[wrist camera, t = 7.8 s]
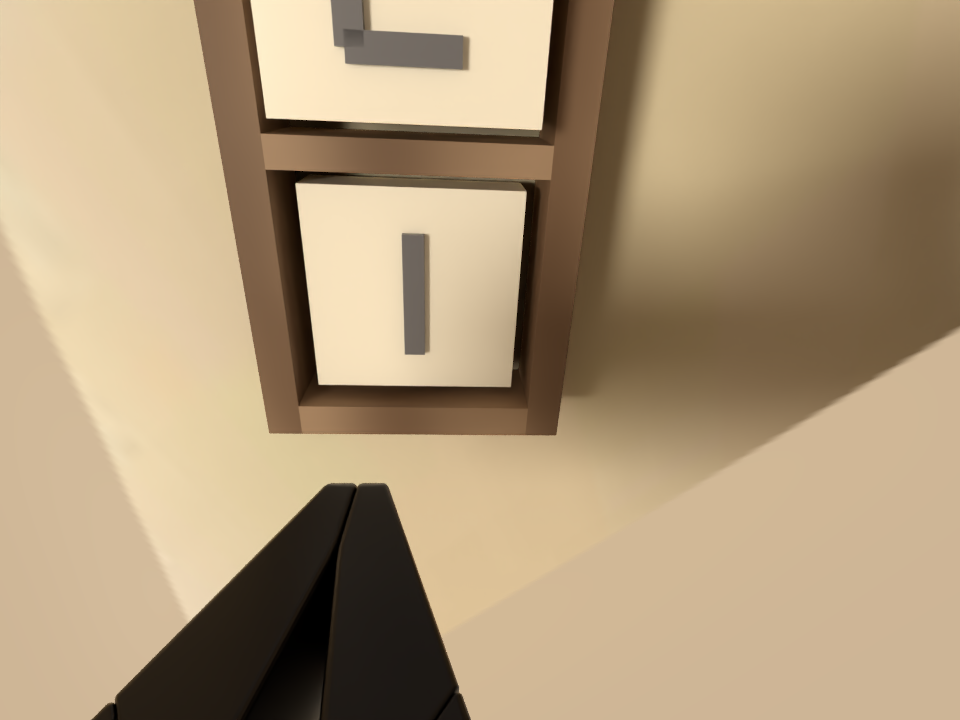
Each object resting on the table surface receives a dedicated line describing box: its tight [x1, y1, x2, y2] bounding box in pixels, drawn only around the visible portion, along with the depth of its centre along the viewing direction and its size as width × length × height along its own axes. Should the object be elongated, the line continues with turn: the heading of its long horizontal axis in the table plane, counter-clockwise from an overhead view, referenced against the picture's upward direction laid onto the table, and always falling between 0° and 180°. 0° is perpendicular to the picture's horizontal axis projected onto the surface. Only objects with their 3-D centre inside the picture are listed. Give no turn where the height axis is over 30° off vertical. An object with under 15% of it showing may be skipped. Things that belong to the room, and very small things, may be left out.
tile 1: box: [295, 175, 527, 387], centre depth 16 cm, size 6×6×2 cm
